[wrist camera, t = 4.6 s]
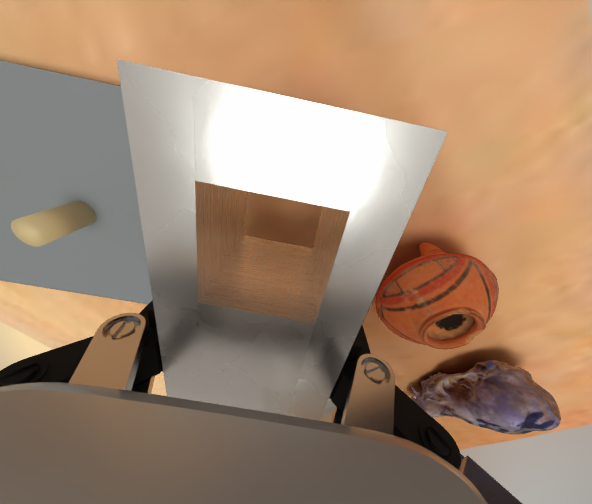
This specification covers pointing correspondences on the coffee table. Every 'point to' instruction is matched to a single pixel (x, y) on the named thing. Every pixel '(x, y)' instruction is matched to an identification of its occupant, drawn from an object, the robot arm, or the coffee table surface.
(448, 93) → the coffee table surface
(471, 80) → the coffee table surface
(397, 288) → the pot
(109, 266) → the pin board
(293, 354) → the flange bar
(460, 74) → the coffee table surface
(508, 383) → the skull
